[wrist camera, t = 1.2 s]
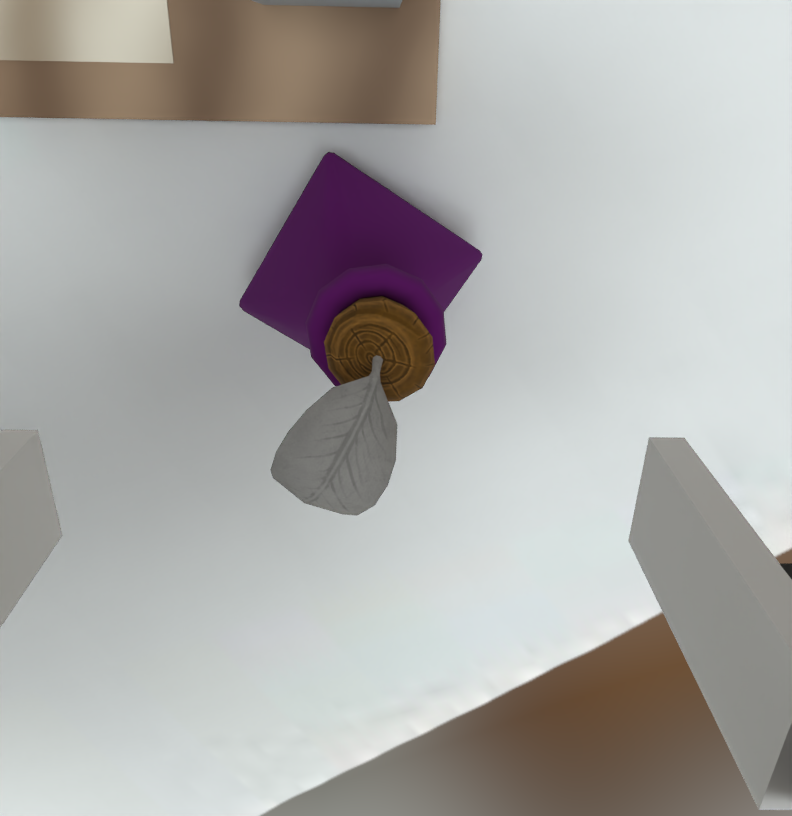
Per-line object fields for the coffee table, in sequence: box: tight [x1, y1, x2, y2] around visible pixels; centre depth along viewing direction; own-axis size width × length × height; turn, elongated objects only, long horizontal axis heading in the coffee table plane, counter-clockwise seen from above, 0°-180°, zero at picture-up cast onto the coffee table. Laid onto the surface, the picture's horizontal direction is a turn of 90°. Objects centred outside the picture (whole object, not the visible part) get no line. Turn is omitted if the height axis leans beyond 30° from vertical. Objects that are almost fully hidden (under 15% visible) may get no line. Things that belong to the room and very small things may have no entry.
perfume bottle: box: [239, 152, 482, 515], centre depth 25 cm, size 8×8×18 cm
